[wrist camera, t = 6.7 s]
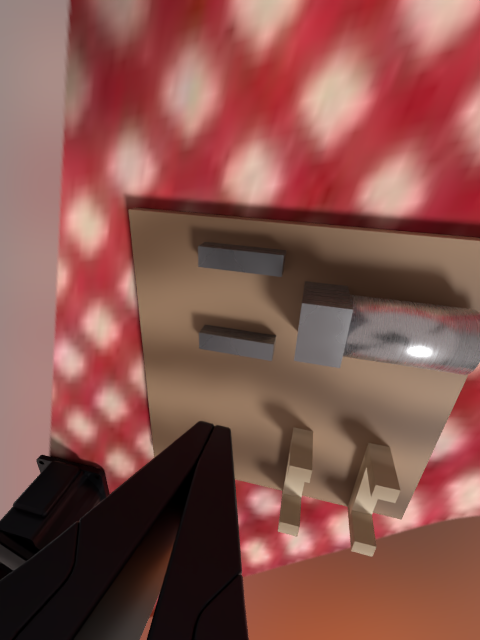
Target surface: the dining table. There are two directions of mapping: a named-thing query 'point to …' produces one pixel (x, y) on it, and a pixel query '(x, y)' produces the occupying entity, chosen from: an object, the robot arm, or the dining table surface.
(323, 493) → the board
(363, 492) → the rack
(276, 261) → the socket
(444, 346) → the grey piece
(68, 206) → the dining table surface
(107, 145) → the dining table surface
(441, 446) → the dining table surface
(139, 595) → the robot arm
